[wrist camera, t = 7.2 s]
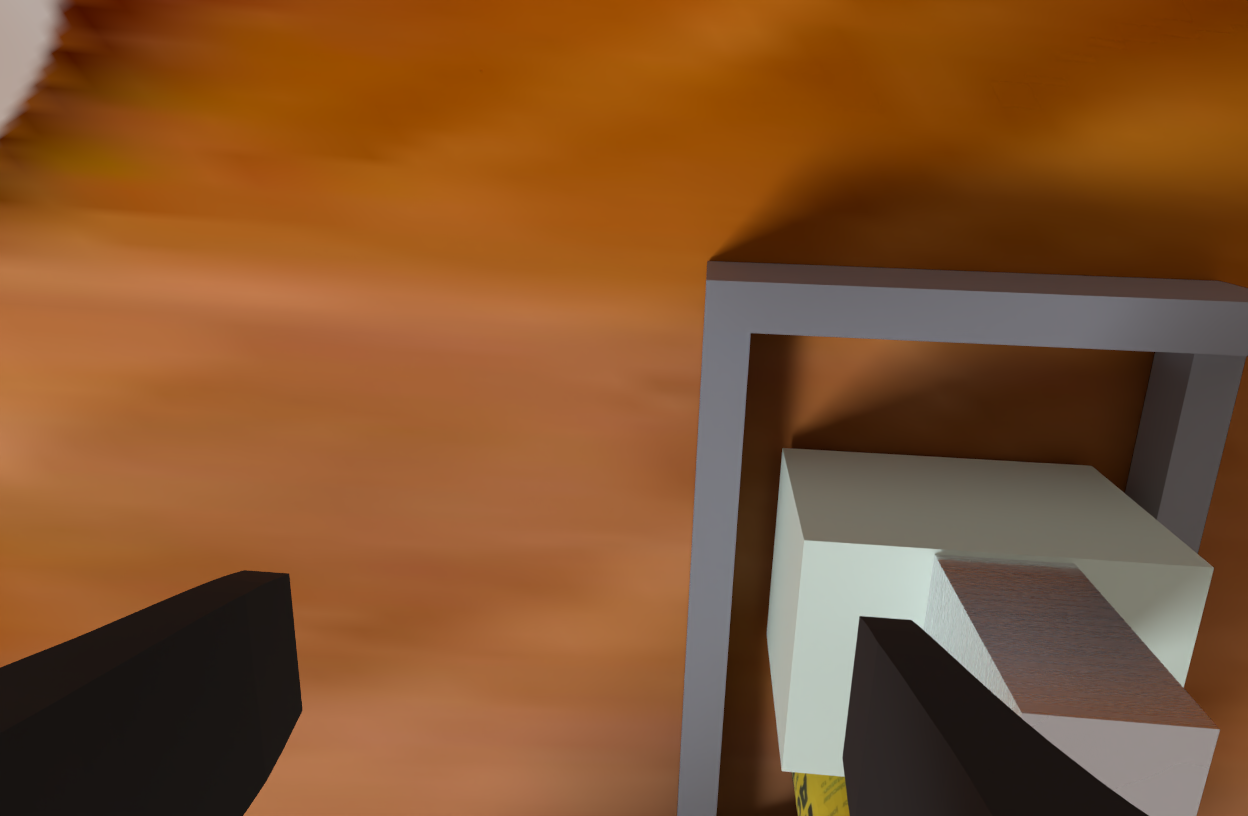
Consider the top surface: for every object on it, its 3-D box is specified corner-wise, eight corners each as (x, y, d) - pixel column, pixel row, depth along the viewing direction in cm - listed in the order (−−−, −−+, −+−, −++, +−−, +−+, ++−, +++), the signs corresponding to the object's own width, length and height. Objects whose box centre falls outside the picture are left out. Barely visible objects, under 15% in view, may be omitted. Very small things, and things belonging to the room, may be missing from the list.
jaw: (766, 633, 22) (804, 983, 13) (782, 447, 20) (839, 691, 11) (1053, 656, 21) (1312, 1040, 12) (1091, 465, 20) (1420, 739, 10)
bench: (673, 869, 24) (662, 1089, 19) (707, 261, 19) (705, 307, 14) (1074, 910, 23) (1190, 1155, 18) (1218, 280, 18) (1448, 339, 13)
